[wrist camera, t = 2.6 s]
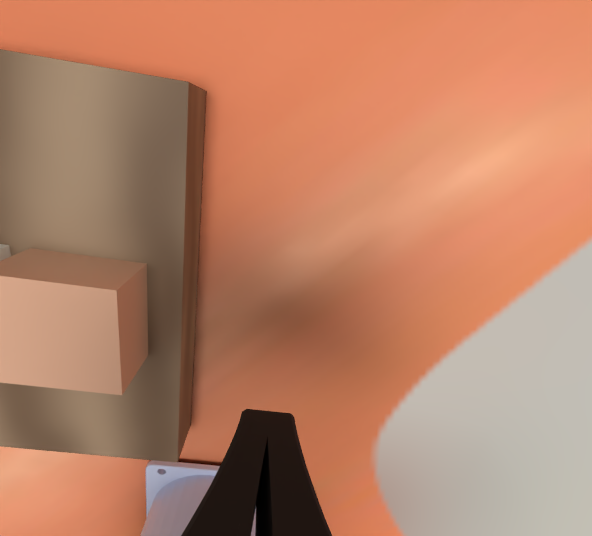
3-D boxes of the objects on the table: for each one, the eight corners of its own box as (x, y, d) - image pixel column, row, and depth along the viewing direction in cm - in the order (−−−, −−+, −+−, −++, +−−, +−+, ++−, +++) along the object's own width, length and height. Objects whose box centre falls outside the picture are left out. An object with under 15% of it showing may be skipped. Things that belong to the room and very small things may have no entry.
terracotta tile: (146, 263, 13) (116, 290, 11) (148, 355, 15) (122, 395, 13) (30, 248, 13) (-27, 272, 11) (44, 343, 15) (-2, 382, 12)
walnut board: (206, 91, 13) (188, 82, 11) (190, 424, 20) (177, 462, 18) (-173, 26, 12) (-281, 0, 10) (-57, 399, 19) (-106, 436, 17)
